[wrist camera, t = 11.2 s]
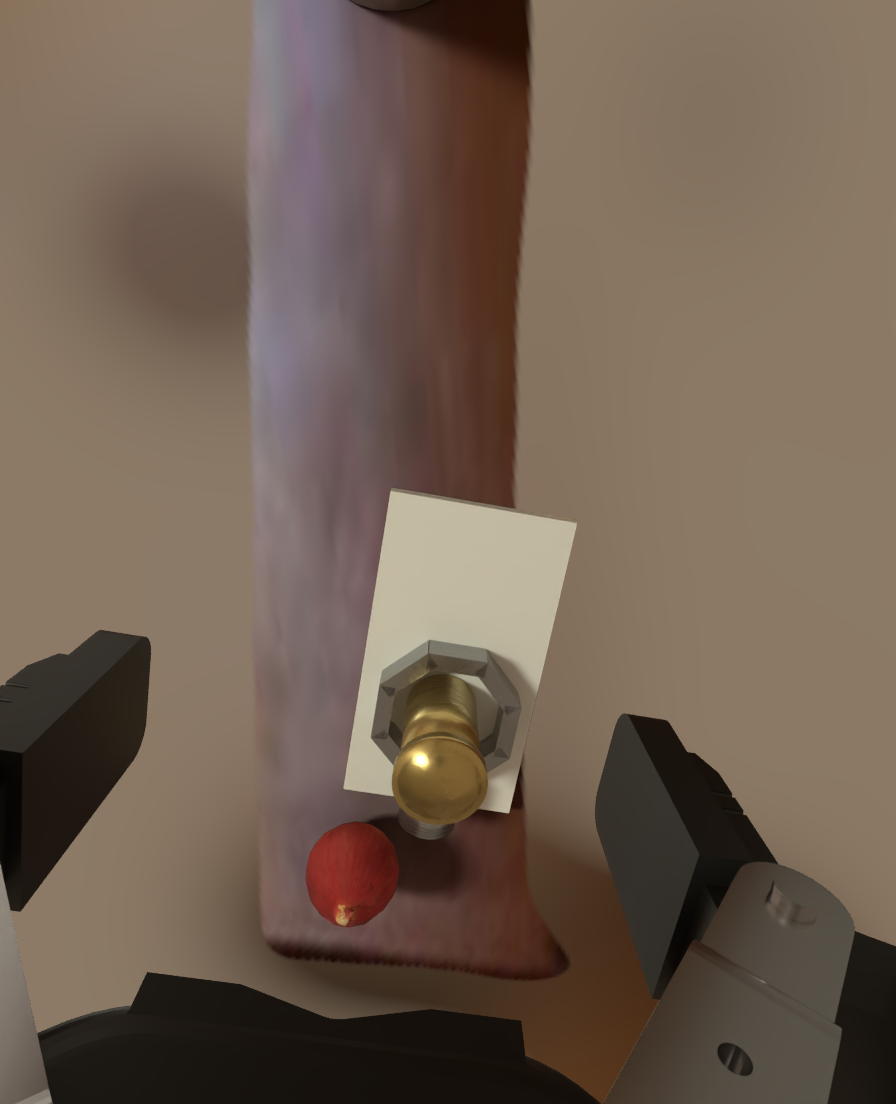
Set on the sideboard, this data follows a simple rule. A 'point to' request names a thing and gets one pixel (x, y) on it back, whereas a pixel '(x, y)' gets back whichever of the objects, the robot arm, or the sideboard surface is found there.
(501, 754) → the grey octagonal ring
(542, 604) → the board
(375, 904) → the onion
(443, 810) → the knob
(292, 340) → the sideboard surface
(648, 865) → the robot arm
